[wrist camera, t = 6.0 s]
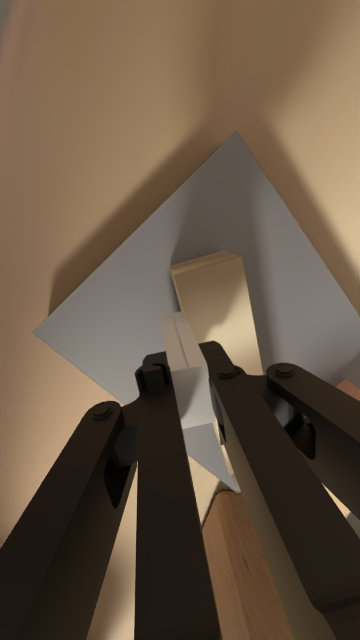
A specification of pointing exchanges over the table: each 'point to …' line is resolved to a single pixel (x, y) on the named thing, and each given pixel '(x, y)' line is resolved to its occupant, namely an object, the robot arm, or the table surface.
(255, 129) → the table surface
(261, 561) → the wooden block
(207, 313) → the folding leg
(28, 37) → the table surface
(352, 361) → the stool seat
